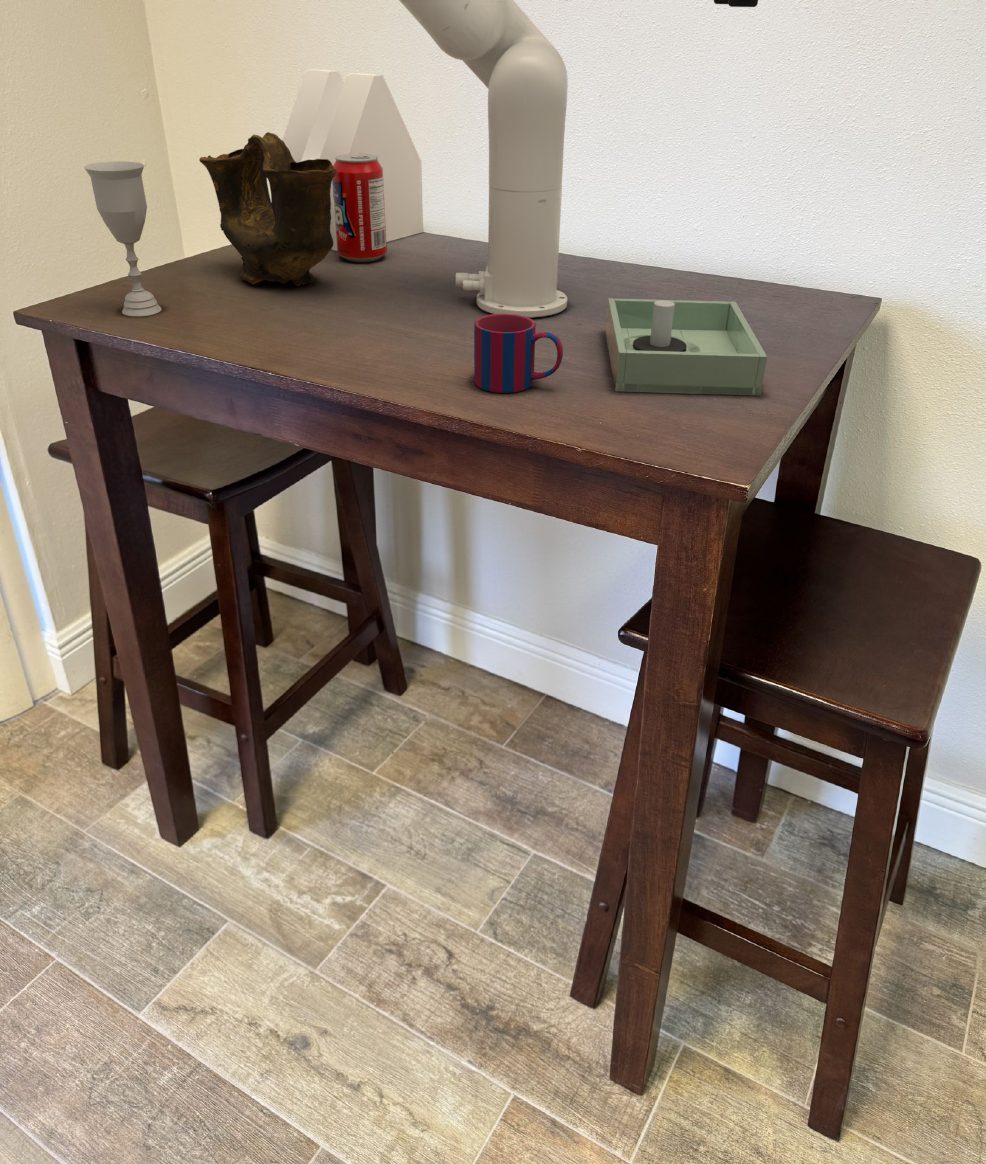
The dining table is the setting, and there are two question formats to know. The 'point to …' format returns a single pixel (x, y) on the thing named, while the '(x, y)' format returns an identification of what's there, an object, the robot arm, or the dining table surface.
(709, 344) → the sink floor
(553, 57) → the robot arm
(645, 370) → the sink
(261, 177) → the pottery vessel
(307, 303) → the dining table surface
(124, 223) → the chalice
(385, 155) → the white twin peaked block
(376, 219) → the soda can
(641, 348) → the plug
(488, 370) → the mug
